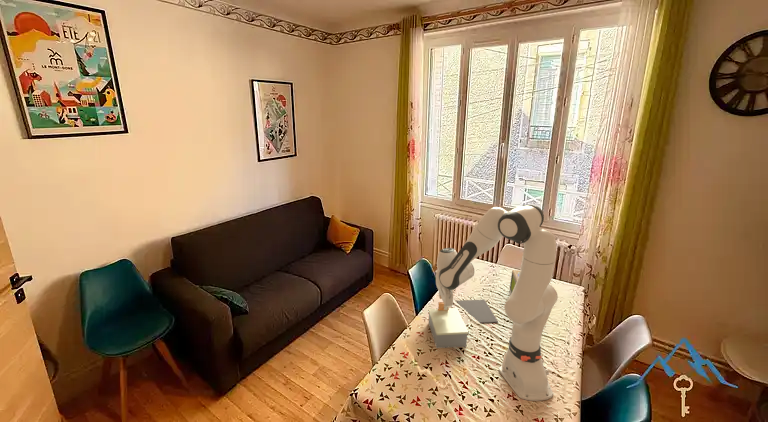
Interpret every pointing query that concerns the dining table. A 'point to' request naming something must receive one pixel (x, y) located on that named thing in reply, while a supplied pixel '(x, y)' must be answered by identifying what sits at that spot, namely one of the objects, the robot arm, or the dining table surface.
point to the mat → (478, 310)
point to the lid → (447, 321)
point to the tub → (447, 338)
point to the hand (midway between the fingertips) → (443, 303)
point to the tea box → (514, 280)
